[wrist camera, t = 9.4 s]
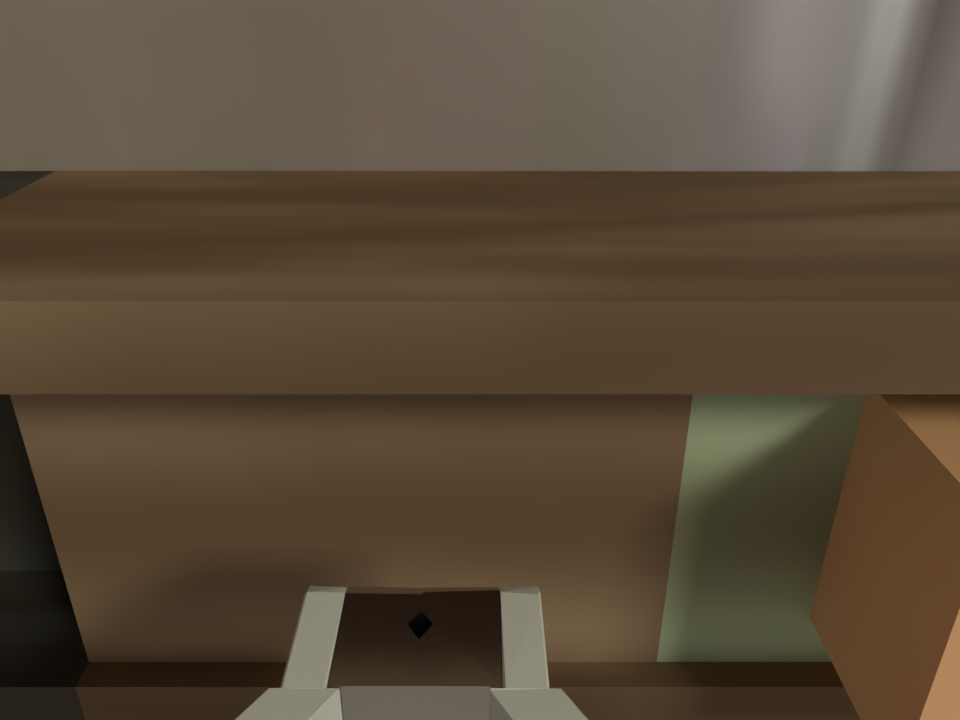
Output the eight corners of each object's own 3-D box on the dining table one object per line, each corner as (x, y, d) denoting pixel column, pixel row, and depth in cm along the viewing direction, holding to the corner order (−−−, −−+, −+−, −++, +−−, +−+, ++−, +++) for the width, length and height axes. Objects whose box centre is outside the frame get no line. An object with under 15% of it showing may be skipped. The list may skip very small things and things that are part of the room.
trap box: (-508, 171, 14) (-1088, 300, 9) (1736, 171, 15) (2469, 301, 9) (-275, 599, 19) (-572, 855, 14) (1439, 598, 19) (1816, 853, 14)
